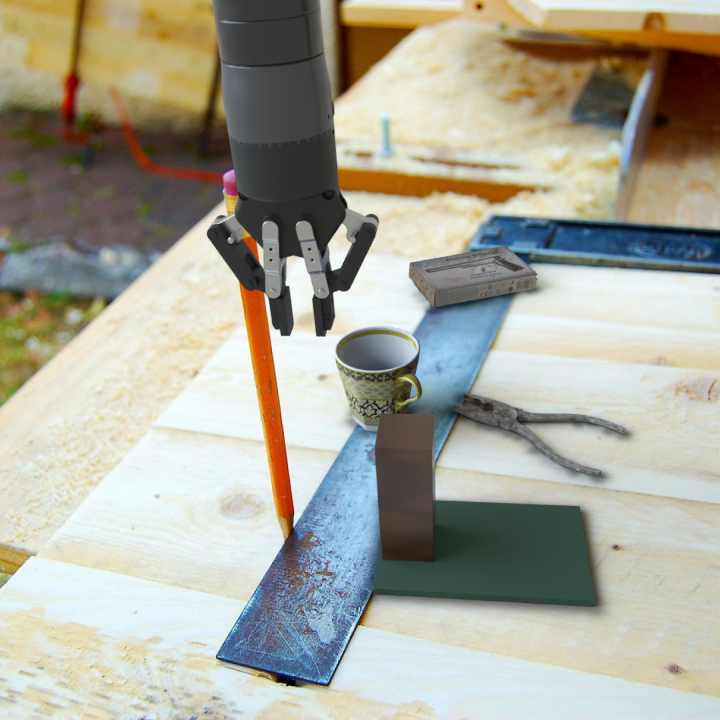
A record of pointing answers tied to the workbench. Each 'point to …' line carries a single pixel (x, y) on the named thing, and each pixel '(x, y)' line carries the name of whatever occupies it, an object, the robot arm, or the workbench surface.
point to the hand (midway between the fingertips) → (305, 330)
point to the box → (471, 276)
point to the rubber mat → (498, 556)
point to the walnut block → (406, 486)
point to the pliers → (511, 415)
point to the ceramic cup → (378, 372)
